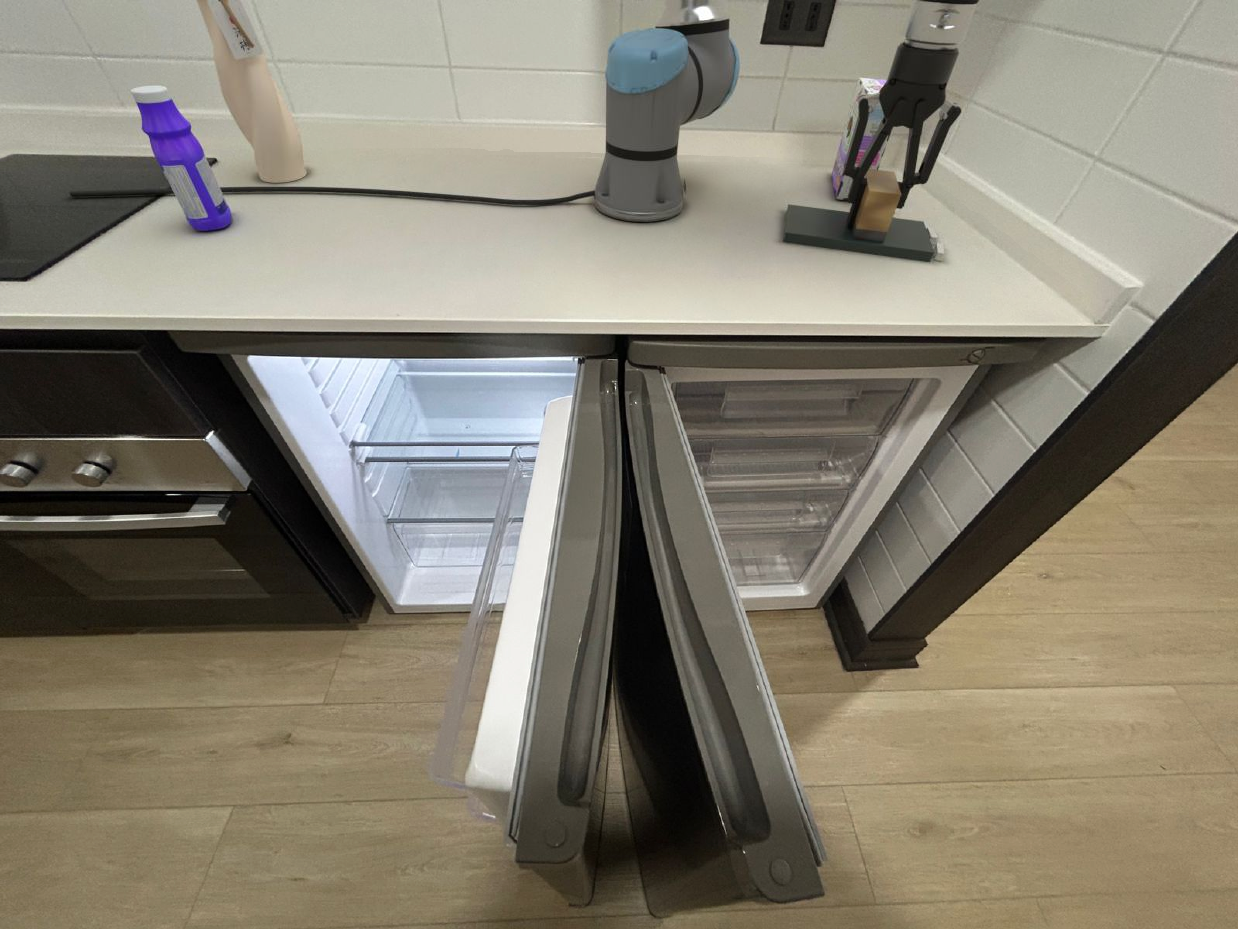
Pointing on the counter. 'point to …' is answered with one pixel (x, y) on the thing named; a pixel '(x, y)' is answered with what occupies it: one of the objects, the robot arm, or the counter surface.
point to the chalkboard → (834, 233)
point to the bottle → (182, 159)
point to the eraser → (877, 206)
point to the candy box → (863, 88)
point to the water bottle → (253, 92)
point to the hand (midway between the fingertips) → (866, 225)
